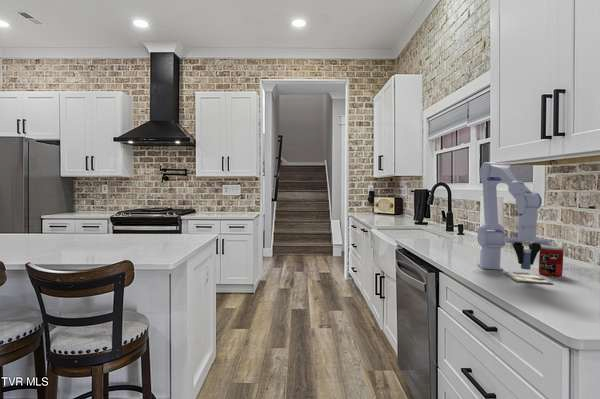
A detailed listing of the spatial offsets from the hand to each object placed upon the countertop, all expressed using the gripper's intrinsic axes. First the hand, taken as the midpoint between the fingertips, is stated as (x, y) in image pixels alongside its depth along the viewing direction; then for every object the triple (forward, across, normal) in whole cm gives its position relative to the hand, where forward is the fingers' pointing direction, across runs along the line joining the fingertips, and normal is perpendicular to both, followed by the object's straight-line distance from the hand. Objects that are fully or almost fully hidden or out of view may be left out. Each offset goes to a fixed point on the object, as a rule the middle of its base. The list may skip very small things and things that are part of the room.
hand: (525, 263), depth 142 cm
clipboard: (+6, +2, +4) cm, 7 cm away
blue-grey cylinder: (+2, 0, 0) cm, 2 cm away
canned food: (+6, +14, +15) cm, 21 cm away
